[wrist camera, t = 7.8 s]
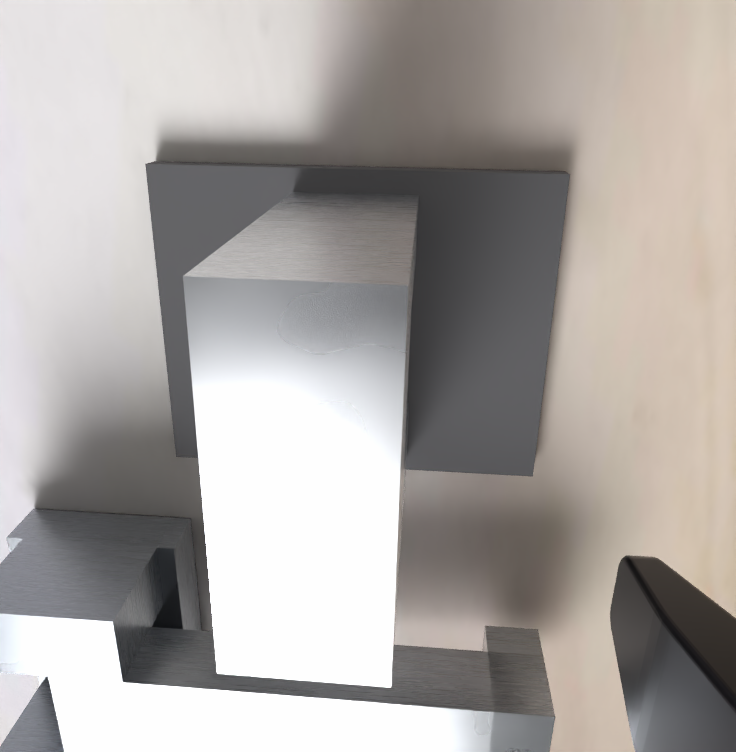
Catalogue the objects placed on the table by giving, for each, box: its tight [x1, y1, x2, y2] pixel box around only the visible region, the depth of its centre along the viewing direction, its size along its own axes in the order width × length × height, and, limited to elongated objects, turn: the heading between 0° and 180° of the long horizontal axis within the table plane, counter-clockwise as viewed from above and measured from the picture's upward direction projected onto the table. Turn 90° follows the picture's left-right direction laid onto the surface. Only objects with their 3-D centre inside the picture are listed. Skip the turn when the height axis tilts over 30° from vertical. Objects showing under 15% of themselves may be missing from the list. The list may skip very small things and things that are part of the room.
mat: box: [146, 162, 570, 476], centre depth 18 cm, size 10×8×1 cm
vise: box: [0, 509, 555, 752], centre depth 20 cm, size 16×7×4 cm, turn 89°
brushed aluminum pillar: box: [183, 192, 419, 688], centre depth 14 cm, size 3×7×8 cm, turn 179°
